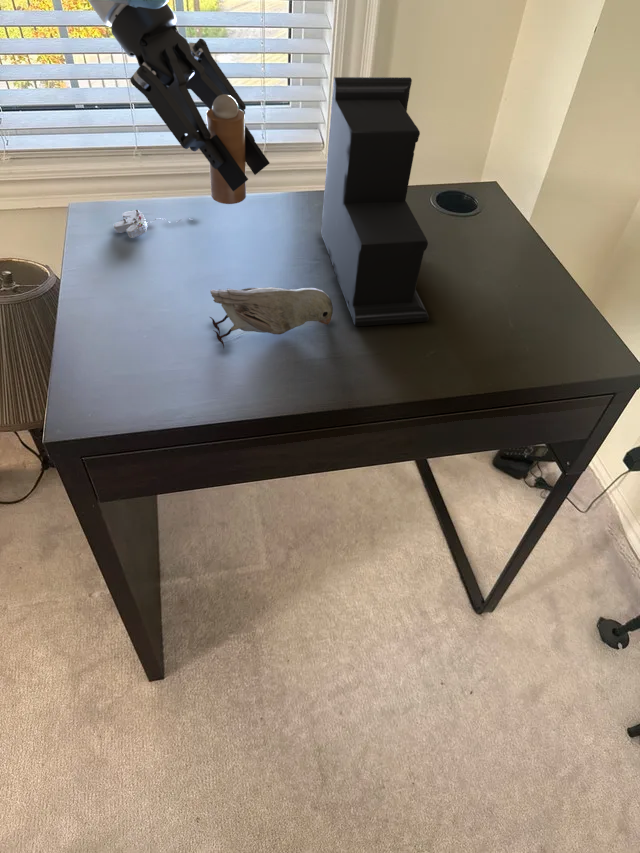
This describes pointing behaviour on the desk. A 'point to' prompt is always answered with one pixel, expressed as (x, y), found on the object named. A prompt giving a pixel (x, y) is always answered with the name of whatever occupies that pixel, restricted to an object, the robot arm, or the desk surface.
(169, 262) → the desk surface
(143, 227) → the game controller
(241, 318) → the decorative bird
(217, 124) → the pepper mill
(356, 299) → the bookend
